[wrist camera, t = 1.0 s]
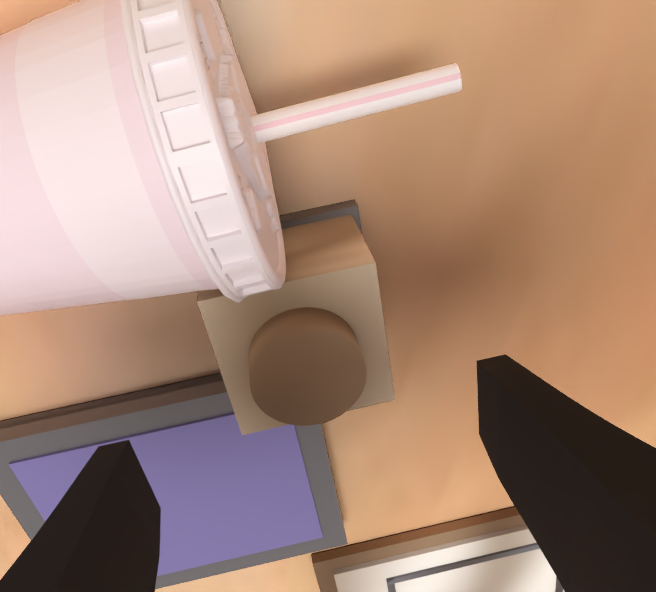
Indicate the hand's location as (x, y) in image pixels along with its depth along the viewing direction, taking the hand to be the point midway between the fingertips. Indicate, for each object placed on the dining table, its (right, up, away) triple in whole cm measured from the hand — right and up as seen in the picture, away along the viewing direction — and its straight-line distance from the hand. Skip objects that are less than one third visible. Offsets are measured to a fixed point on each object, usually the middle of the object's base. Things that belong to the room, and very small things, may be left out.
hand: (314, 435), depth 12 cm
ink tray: (-5, -3, +8) cm, 10 cm away
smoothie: (-11, +4, 0) cm, 12 cm away
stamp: (-1, +3, +5) cm, 6 cm away
